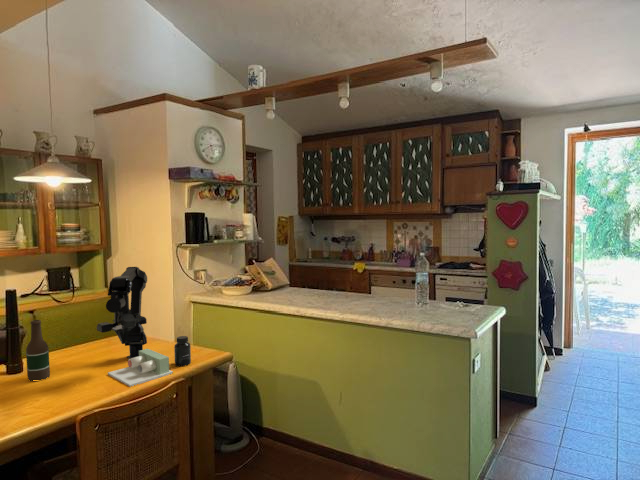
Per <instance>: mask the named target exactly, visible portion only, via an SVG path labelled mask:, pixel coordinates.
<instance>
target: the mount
mask: <svg viewBox="0 0 640 480" xmlns="http://www.w3.org/2000/svg"><path fill="white" fill-rule="evenodd" d="M142 355H144V356H145V357H146V362H147V361H150V360H155V361H156V363H157V368H156V369H155V370H151V371H148V372H144V373H140V372H139V370H138V366H137V367H134V368H130V367H129V366H127V367H124V368H119V369H116V370H112V371H108V372H107V375H108V376H109V377H112V378H113V379H115V380H116V381H119V382H121V383H122V384H124V385H126V386H128V387H130V388H132V387H134V385H135V386H138V385H141V384H144V383H147V382H150V381H153V380H157V379H159V378H163V377H166V376H169V374H170V375H173V374H172V373H174V371H173V370H170V360H169V359H170V357H169V356H168V355H164V354H162V353H160V352H157V351H154V350H152V349H149V348H145V349H144V348H143V350H140V351H139V356H142ZM137 384H138V385H137ZM131 386H132V387H131Z"/></svg>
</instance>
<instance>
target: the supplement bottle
mask: <svg viewBox="0 0 640 480" xmlns="http://www.w3.org/2000/svg"><path fill="white" fill-rule="evenodd" d="M173 348H174V365H175V366H176V367H186V366H188V364H189V365H190V364H191V362H192V361H191V356H192V354H191V343H190V342H189V336H188V335H180V336H176V342H175V344H174V347H173ZM185 365H186V366H185Z"/></svg>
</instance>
